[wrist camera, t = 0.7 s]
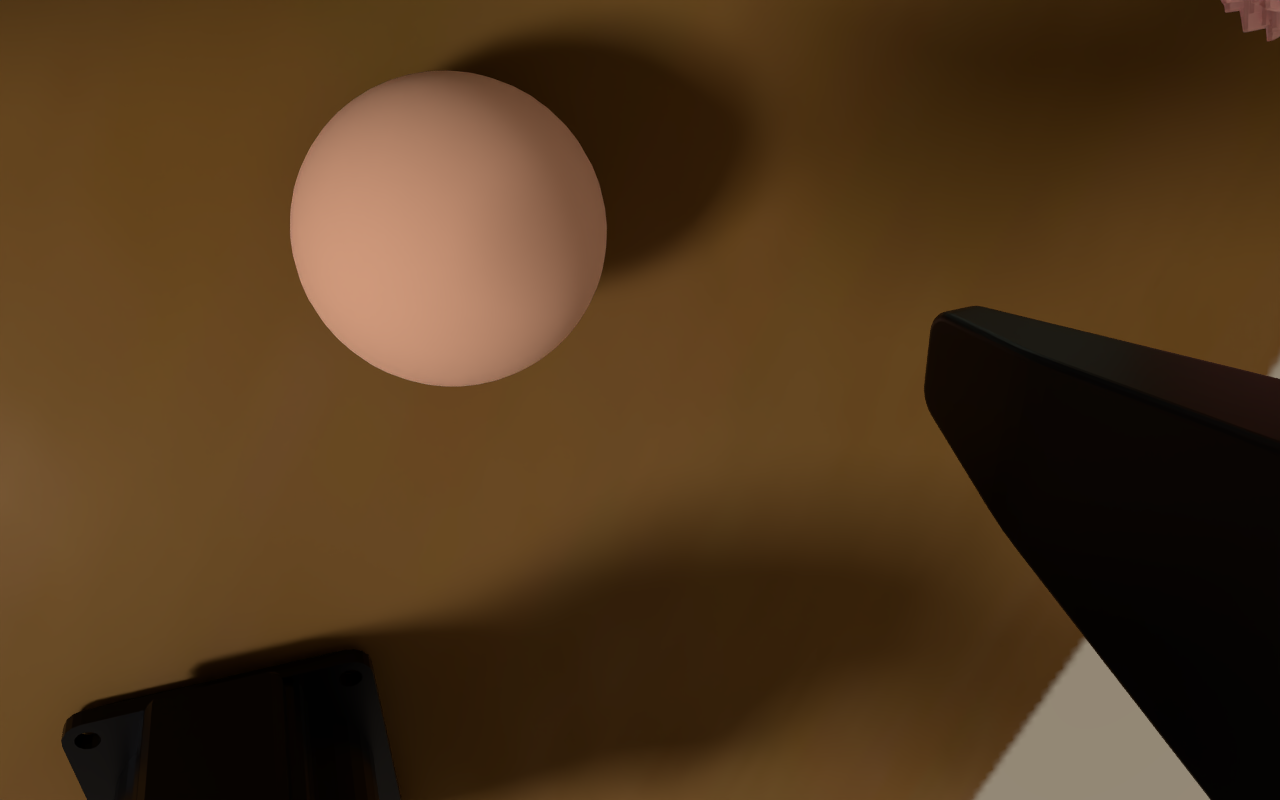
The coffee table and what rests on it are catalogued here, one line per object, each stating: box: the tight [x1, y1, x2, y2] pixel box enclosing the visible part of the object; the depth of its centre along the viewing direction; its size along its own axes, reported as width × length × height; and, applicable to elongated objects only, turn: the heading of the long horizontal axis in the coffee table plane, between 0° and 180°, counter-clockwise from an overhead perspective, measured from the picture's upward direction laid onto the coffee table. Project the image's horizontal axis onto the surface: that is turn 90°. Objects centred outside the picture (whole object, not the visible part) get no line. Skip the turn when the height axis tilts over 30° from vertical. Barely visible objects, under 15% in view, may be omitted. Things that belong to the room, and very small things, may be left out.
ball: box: [290, 70, 607, 386], centre depth 17 cm, size 5×5×5 cm
